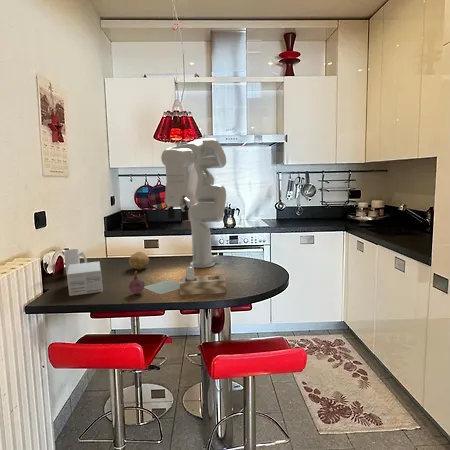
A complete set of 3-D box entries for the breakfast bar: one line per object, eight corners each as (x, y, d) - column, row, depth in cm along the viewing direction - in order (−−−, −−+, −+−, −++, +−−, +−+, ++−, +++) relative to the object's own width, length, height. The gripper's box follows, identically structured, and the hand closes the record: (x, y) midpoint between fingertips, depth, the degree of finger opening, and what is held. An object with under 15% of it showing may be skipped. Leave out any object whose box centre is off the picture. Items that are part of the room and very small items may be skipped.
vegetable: (127, 298, 147) (125, 272, 145) (131, 292, 153) (129, 268, 152) (143, 297, 147) (141, 272, 145) (146, 292, 153) (145, 268, 152)
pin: (192, 289, 154) (190, 265, 153) (196, 291, 152) (195, 267, 150) (186, 291, 152) (184, 267, 151) (190, 293, 150) (189, 268, 149)
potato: (127, 273, 183) (126, 257, 182) (131, 266, 197) (130, 251, 196) (148, 272, 184) (147, 256, 183) (150, 265, 198) (149, 250, 197)
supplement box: (70, 285, 168) (68, 264, 166) (101, 281, 172) (99, 261, 171) (68, 296, 152) (66, 273, 150) (103, 292, 156) (101, 269, 155)
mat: (170, 280, 168) (170, 279, 168) (188, 287, 158) (188, 286, 158) (141, 287, 159) (141, 287, 159) (159, 295, 149) (159, 294, 149)
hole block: (223, 285, 158) (223, 274, 157) (226, 292, 149) (225, 280, 148) (180, 288, 156) (179, 277, 155) (180, 296, 147) (179, 283, 146)
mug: (64, 277, 180) (61, 252, 178) (68, 273, 186) (65, 249, 185) (86, 275, 181) (84, 251, 179) (89, 272, 188) (87, 248, 186)
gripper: (156, 179, 163) (159, 219, 166) (180, 180, 151) (183, 222, 154) (170, 178, 168) (173, 216, 171) (195, 179, 156) (197, 220, 159)
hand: (178, 219), depth 162 cm, fingers open, 9 cm apart
